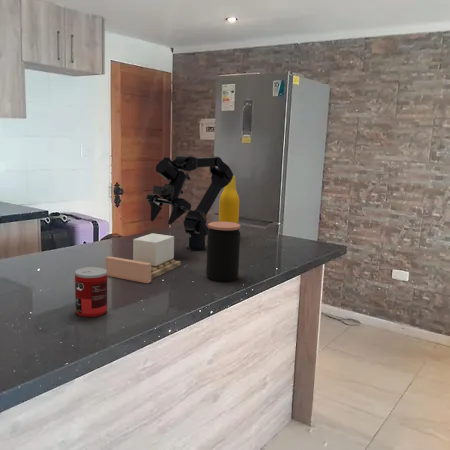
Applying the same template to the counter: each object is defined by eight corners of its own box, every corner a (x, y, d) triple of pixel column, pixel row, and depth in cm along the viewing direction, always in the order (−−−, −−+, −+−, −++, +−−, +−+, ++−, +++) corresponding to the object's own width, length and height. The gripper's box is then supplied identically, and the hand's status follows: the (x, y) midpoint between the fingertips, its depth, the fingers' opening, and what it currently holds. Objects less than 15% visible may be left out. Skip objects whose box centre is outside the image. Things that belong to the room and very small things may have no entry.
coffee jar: (242, 275, 158) (244, 223, 154) (232, 284, 148) (234, 228, 144) (212, 271, 161) (214, 220, 158) (201, 279, 151) (203, 225, 148)
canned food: (79, 306, 124) (78, 266, 121) (109, 306, 124) (109, 267, 122) (72, 317, 116) (71, 275, 114) (104, 317, 117) (104, 275, 115)
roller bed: (148, 260, 172) (148, 253, 171) (180, 265, 166) (180, 258, 166) (113, 274, 153) (113, 267, 152) (148, 280, 147) (148, 273, 147)
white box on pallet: (152, 254, 169) (152, 233, 168) (173, 258, 166) (174, 236, 164) (133, 262, 158) (133, 239, 157) (155, 266, 155) (156, 242, 153)
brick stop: (109, 273, 153) (109, 256, 152) (151, 281, 147) (151, 263, 146) (105, 275, 151) (105, 257, 150) (147, 283, 145) (147, 264, 144)
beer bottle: (219, 236, 218) (221, 174, 213) (238, 237, 217) (241, 175, 212) (216, 240, 209) (218, 176, 204) (236, 241, 208) (239, 177, 203)
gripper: (144, 173, 176) (129, 210, 172) (181, 177, 165) (164, 217, 161) (162, 186, 185) (148, 222, 181) (198, 191, 174) (183, 229, 170)
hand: (160, 222), depth 173 cm, fingers open, 9 cm apart
